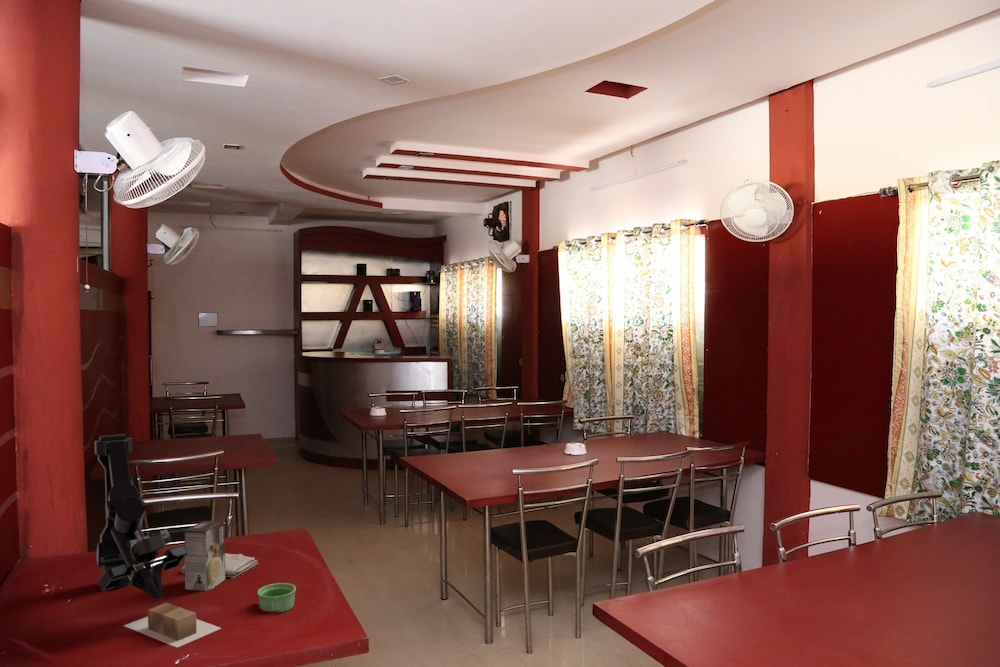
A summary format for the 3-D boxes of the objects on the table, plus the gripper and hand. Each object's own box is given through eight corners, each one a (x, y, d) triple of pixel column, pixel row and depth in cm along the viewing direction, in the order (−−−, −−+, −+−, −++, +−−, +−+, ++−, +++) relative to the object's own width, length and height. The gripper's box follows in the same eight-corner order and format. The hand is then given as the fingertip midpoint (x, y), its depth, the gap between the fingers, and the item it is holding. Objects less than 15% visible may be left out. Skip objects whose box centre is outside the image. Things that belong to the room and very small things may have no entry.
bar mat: (123, 628, 161) (123, 625, 161) (168, 611, 170) (168, 608, 170) (177, 650, 150) (177, 647, 150) (221, 630, 160) (221, 628, 160)
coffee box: (204, 578, 191) (203, 519, 191) (226, 580, 190) (225, 521, 190) (184, 591, 182) (183, 530, 182) (207, 593, 181) (206, 531, 181)
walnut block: (147, 609, 159) (177, 620, 153) (166, 602, 163) (196, 613, 157) (148, 629, 159) (177, 640, 153) (166, 621, 163) (196, 633, 157)
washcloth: (236, 580, 191) (236, 569, 191) (178, 575, 195) (178, 564, 195) (260, 565, 203) (260, 555, 203) (205, 560, 207) (205, 550, 206)
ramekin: (303, 603, 175) (303, 586, 175) (278, 617, 167) (278, 599, 167) (275, 597, 179) (275, 580, 179) (249, 611, 171) (249, 593, 170)
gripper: (105, 532, 155) (134, 592, 149) (182, 512, 170) (211, 565, 165) (86, 561, 159) (114, 620, 153) (163, 538, 175) (191, 592, 169)
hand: (160, 598), depth 160 cm, fingers closed
